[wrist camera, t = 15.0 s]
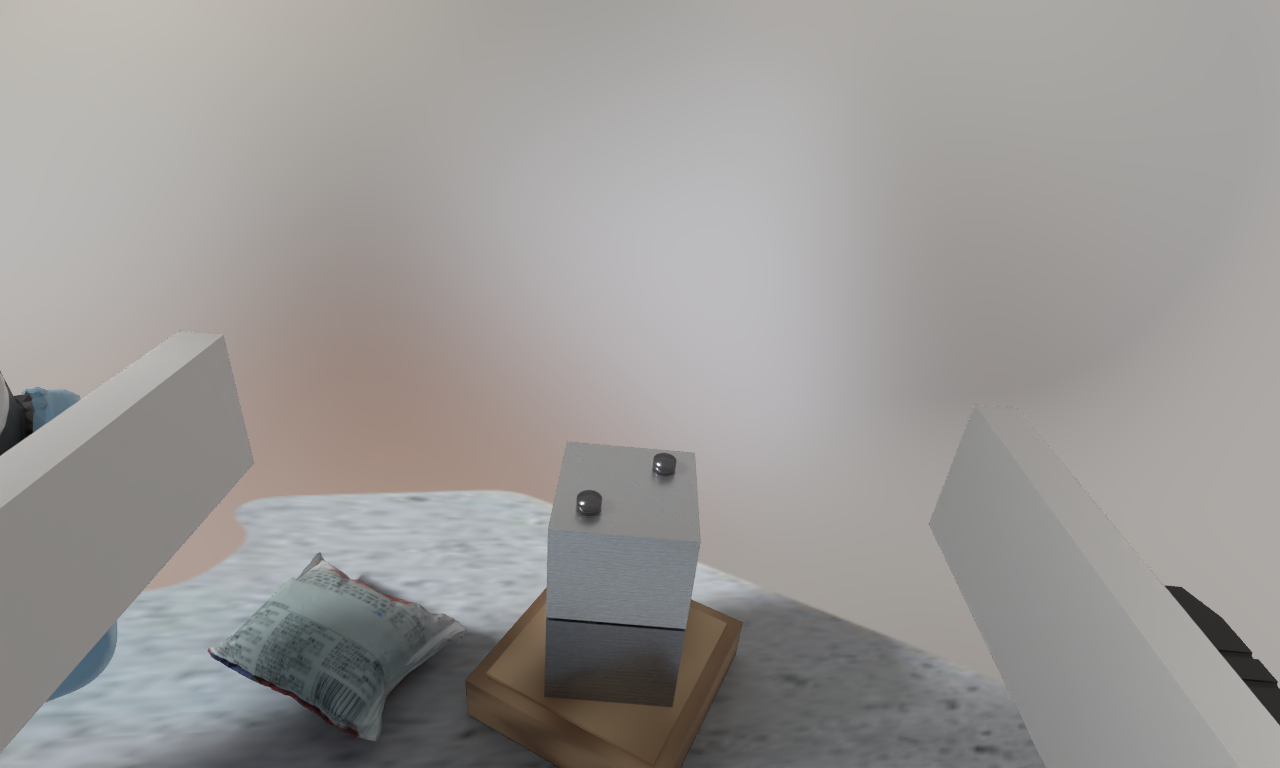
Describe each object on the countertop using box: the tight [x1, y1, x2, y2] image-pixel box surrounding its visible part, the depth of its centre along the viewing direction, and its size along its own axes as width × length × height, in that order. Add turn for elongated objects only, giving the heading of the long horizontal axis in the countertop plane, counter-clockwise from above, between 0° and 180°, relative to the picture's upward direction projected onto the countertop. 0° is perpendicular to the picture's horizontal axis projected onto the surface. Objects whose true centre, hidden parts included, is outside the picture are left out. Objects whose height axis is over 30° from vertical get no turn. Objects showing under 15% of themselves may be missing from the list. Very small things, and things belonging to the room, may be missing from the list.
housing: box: [544, 442, 701, 707], centre depth 38 cm, size 7×7×13 cm
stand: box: [466, 588, 743, 768], centre depth 42 cm, size 12×12×3 cm
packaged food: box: [208, 553, 467, 741], centre depth 41 cm, size 9×12×5 cm
